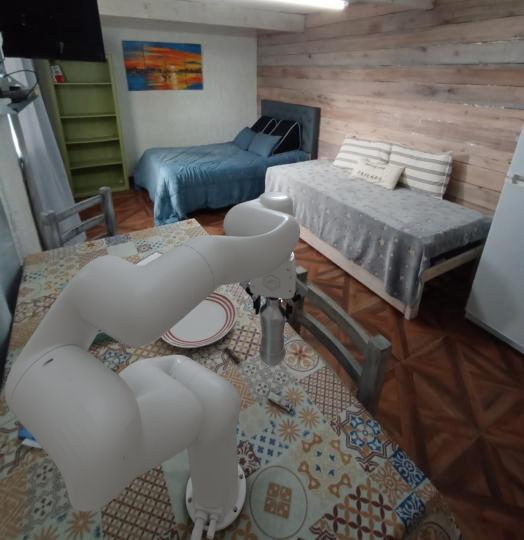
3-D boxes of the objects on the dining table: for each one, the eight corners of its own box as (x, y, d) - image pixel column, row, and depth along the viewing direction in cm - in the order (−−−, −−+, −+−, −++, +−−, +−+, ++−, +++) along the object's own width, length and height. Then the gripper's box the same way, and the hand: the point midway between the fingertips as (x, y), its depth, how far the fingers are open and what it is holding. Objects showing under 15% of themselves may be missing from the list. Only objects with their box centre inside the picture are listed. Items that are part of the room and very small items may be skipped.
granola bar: (266, 399, 85) (266, 396, 85) (270, 392, 87) (270, 389, 87) (288, 412, 82) (288, 410, 82) (292, 405, 84) (292, 402, 83)
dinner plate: (145, 318, 113) (143, 311, 111) (211, 286, 129) (210, 279, 128) (180, 371, 93) (179, 363, 92) (252, 325, 110) (252, 318, 108)
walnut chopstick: (240, 362, 96) (240, 359, 96) (238, 364, 95) (237, 361, 95) (226, 348, 101) (226, 346, 100) (224, 350, 100) (223, 347, 100)
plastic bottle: (282, 372, 77) (285, 307, 70) (256, 366, 78) (256, 302, 71) (287, 350, 83) (290, 288, 75) (262, 345, 84) (262, 284, 77)
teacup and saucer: (159, 275, 136) (157, 267, 134) (146, 269, 139) (145, 262, 138) (174, 265, 143) (173, 257, 141) (162, 260, 146) (161, 252, 145)
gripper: (230, 253, 67) (233, 319, 73) (313, 262, 64) (308, 330, 70) (239, 235, 73) (241, 297, 80) (315, 243, 70) (310, 306, 77)
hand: (272, 312), depth 75 cm, fingers closed on plastic bottle, 6 cm apart
